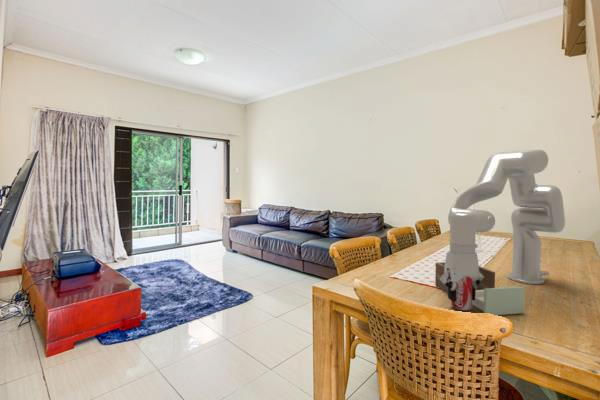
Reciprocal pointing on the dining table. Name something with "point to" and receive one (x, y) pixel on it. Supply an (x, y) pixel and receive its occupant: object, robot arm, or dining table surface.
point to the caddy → (485, 283)
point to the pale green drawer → (500, 300)
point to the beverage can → (463, 294)
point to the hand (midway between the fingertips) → (461, 299)
